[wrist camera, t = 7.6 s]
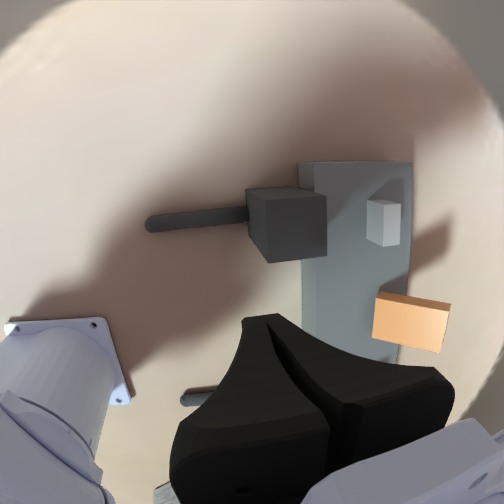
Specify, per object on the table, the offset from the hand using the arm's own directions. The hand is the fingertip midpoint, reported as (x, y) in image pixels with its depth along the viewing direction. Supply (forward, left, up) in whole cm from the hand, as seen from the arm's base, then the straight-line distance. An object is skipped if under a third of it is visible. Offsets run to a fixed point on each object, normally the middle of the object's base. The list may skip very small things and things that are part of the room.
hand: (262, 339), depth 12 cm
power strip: (+8, -4, -10) cm, 14 cm away
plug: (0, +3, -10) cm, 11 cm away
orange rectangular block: (+9, -4, -7) cm, 12 cm away
